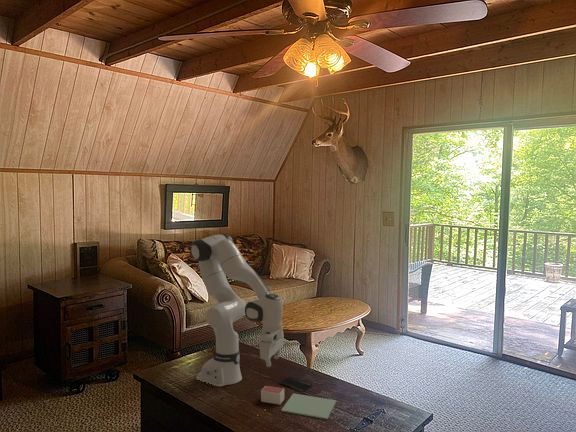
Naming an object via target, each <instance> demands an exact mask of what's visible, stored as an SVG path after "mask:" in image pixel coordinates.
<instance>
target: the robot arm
mask: <svg viewBox="0 0 576 432" xmlns="http://www.w3.org/2000/svg"><path fill="white" fill-rule="evenodd" d="M190 253H191V256H192V258H193V259H194V260H195V261H197V262H198V266H199V271H200V275H201V279H202V281H203V284H204V286H205V290H206V291H207V294H208V295H209V296H210V297H213V298H214V299H215V300H216V301H217V302H218V303H216V304H213V305H212V306H211V307H210V308H208V309H207V310H206V313H205V320H206V323H207V324H208V325H209V326H210V327H211V328H212V329H213V331H214V332H213V333H214V335H215V336H214V337H215V349H214V350H213V352H212V353H211V356H212V358H209V359H208V360H207V361H206V362H205V363H204V364H203V365H202V367H201V370H200V372H199V373H198V374H196V377H195V378H196V379H197V380H200V381H199V382H201V381H202V383H204V382H206V383H205V384H208V383H209V384H208V385H211V384H212V386H214V387H219V388H220V387H223V386H224V387H225V386H227V385H228V386H229V385H234V384H237V383H239V382H241V381H242V379H243V376H242V373H241V369H240V368H241V367H240V357H241V356H240V355H241V354H240V353H241V352H240V349H239V347H240V346H239V345H240V343H239V341H240V340H239V332H237V331H235V330H234V326H233V323H234V322H236V321H238V320H241V319H242V318H243V317H244V316H245V318H246V319H247V320H248V321H249V322H251V323H262V328H261V332H260V334H259V336H258V340H259V357H260V359H261V360H264V361H265V363H266V364H265V365H266V367H267V368H270V367H272V361H271V359H272V357H273V359H274V360H278V359H279V357H280V351H281V348H282V347H283V346H284V344H285V337H284V336H285V335H284V329H283V328H284V323H283V317H284V315H283V314H284V312H283V311H284V310H283V309H284V306H283V300H282V298H281V297H280V296H279V295H278V294H275V293H272V292H270V289H268V287H267V285H266V284H265V283H264V281H263V280H262V278H261V277H260V276H259V274H258V273H257V272H256V270H255V269H254V268H252V267H251V266H250V265H249V263H248V262H247V261H246V259H245V258H244V257H243V255H242V253H241V252H240V250H239V248H238V246H237V245H236V244H235V243H234V239H233V238H232V236H231V235H230V234H228V233H219V234H213V235H209V236H208V237H203V238H201V239H197V240H195V241H193V242H192V243H191V246H190ZM228 278H229V279H230V280H234V281H238V282H239V281H240V282H243V283H246V284H247V285H248V286H250V288H251V290H252V291H253V293H255V295H256V297H257V298H256V299H253V300H250V301H249V302H246V301H245V299H243V298H241V297H239V296H238V295H237V293H235V291H234V290H233V288H232V287H231V285H230V283H229V281H228ZM196 379H195V380H196ZM197 380H196V381H197Z"/></svg>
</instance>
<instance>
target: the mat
mask: <svg viewBox="0 0 576 432" xmlns="http://www.w3.org/2000/svg"><path fill="white" fill-rule="evenodd" d="M336 403H337V400H334V399H329V398H325V397H324V398H323V397H317V396H310V395H305V394H297V393H292V394H291V396H290V397H289V399H288V400H287V401H286V402H285V404H284V405H283V407H282V408H281V410H280V412H282V413H283V412H284V413H288V414H294V415H300V416H306V417H310V418H316V419H323V420H328V419H329V417H330V415H331V413H332V411H333V409H334V407H335V405H336Z"/></svg>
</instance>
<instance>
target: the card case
mask: <svg viewBox="0 0 576 432" xmlns="http://www.w3.org/2000/svg"><path fill="white" fill-rule="evenodd" d="M284 401H285V388H284V387H278V386H272V385H271V386H270V385H265V386H263V388H262V389H261V391H260V402H262V403H267V404H268V403H269V404H272V405H273V404H274V405H281V404H282V403H283V402H284Z"/></svg>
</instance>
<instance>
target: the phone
mask: <svg viewBox="0 0 576 432" xmlns="http://www.w3.org/2000/svg"><path fill="white" fill-rule="evenodd" d="M279 384H280V386H284V387H287V388H289V389H294V390H296V391H299V392H303V393H304V392H307V391H309V390H310V389H312V388H313V384H312V383H308V382H306V381H303V380H300V379H296V378H293V377H291V376H290V377H288V376H287V377H285V378H284V379H282V380H280V381H279Z"/></svg>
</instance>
